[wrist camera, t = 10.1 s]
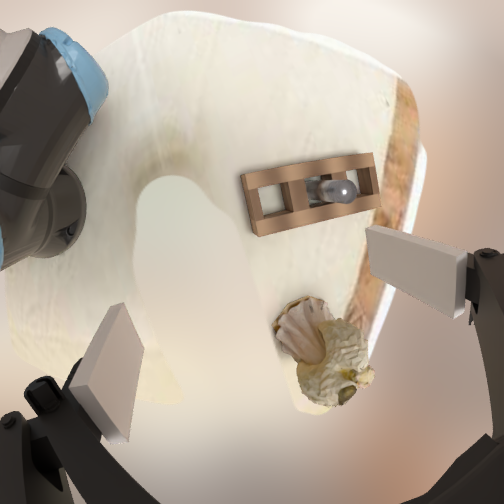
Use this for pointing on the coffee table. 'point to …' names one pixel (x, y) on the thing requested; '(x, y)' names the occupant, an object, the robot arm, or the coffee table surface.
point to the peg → (331, 191)
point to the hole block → (296, 193)
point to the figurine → (324, 351)
